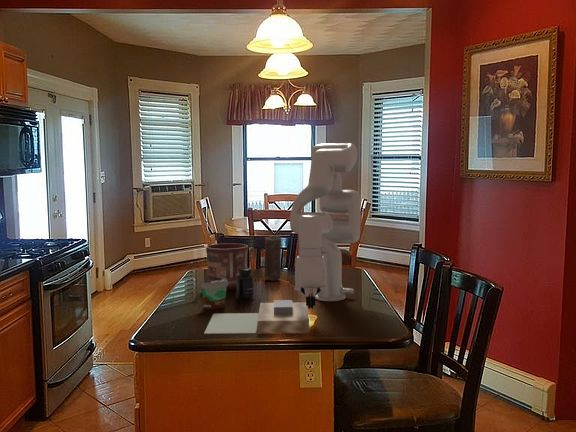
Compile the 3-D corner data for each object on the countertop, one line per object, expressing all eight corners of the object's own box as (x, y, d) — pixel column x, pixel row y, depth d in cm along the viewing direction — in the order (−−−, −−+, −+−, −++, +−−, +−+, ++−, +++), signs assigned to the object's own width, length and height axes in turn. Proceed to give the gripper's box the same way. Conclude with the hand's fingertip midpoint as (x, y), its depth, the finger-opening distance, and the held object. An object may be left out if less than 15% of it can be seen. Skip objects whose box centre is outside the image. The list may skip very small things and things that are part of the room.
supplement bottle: (251, 301, 203) (250, 270, 202) (234, 300, 205) (233, 270, 204) (256, 297, 210) (255, 267, 209) (239, 296, 211) (239, 266, 210)
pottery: (238, 293, 217) (237, 249, 216) (199, 290, 223) (199, 247, 221) (254, 284, 234) (254, 244, 232) (218, 281, 239) (217, 242, 238)
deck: (306, 313, 186) (306, 302, 185) (309, 333, 164) (309, 320, 163) (260, 314, 186) (260, 302, 185) (257, 333, 164) (257, 320, 163)
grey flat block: (292, 307, 179) (292, 300, 179) (292, 314, 170) (292, 307, 170) (274, 307, 179) (274, 300, 179) (274, 314, 170) (273, 307, 170)
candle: (284, 280, 241) (283, 236, 240) (275, 283, 235) (274, 238, 233) (270, 278, 246) (269, 235, 244) (261, 281, 239) (260, 237, 238)
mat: (259, 314, 186) (259, 313, 186) (255, 333, 164) (255, 332, 164) (213, 314, 185) (213, 313, 185) (204, 334, 164) (204, 333, 164)
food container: (214, 312, 189) (213, 284, 188) (201, 309, 192) (200, 282, 191) (235, 304, 199) (235, 278, 198) (222, 302, 202) (222, 276, 201)
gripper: (332, 250, 176) (332, 304, 178) (287, 251, 176) (287, 305, 178) (334, 254, 169) (334, 310, 170) (287, 254, 169) (287, 311, 170)
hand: (310, 307), depth 174 cm, fingers closed
